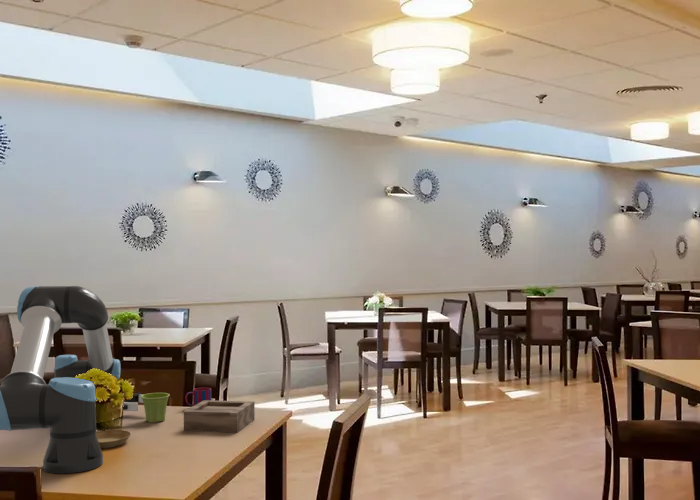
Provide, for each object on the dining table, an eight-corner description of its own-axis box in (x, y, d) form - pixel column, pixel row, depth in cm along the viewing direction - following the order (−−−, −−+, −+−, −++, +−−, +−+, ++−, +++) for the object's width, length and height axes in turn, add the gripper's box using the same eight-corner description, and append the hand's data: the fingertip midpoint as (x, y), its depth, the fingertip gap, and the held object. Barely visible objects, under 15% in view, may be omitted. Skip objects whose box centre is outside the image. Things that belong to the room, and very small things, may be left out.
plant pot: (165, 423, 247) (165, 397, 247) (137, 424, 247) (137, 398, 247) (172, 417, 257) (172, 392, 257) (145, 417, 257) (145, 392, 257)
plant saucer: (116, 451, 214) (116, 442, 214) (69, 449, 216) (69, 440, 216) (139, 438, 228) (139, 430, 228) (95, 437, 231) (95, 428, 231)
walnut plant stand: (237, 432, 234) (237, 412, 234) (183, 430, 237) (183, 411, 238) (254, 419, 252) (254, 401, 252) (204, 418, 255) (204, 400, 255)
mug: (214, 408, 272) (214, 389, 272) (188, 411, 267) (188, 392, 267) (207, 404, 278) (207, 386, 278) (181, 408, 272) (181, 389, 272)
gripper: (109, 404, 270) (163, 406, 265) (70, 419, 245) (129, 422, 241) (109, 383, 270) (163, 385, 265) (70, 397, 245) (128, 399, 241)
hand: (147, 402), depth 253 cm, fingers open, 13 cm apart
